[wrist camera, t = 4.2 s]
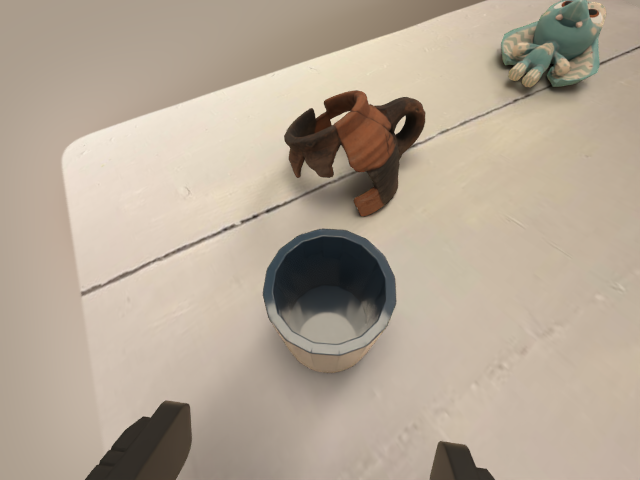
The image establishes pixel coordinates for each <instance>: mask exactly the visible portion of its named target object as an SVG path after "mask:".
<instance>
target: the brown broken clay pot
mask: <svg viewBox="0 0 640 480" xmlns="http://www.w3.org/2000/svg"><path fill="white" fill-rule="evenodd" d="M324 105H325V108H326V112H325V113H323V114H321V115H320V116H319V117H317V118H316V119H315V113H314V110H313V109H312V108H311V109H309V110H308V111H306V112H304V113H303V114H302V115H301V116H299V117H298V118H297V119H296V120H295V121H294V122H293V123H292V124H291V125H290V127H289V128H288V130H287V132H286V134H285V135H284V137H285V142H286V144H287V145H288V146H289V147H290V152H289V161H290V163H291V166H292V168H293V171H294V173H295V175H296V177H297V178H299V177H300V176H301V167H302V165H303V162H304V160H305V161H306V163H307V165H308V166H309V167H310V168H311V169H313V170H315V171H316V173H317V174H318V175H319V176H320V177H327V178H330V177H333V175H334V173H333V168H332V164H333V162H334V159H335V155H336V152H337V151H338V149H339V147H340V145H342V146H343V148H344V150H345V152H346V154H347V157H348V160H349V164H350V166H351V167H352V168H353V169H354V170H355V171H357V172H367V173H368V175H369V177H370V178H371V180H372V181H373V188H371V189H370V190H369V191H367V192H365V193H364V194H362V195H360V196H358V197H355V198H354V203H355V205H356V207H357V208H358V211H359V213H360V215H361V216H366V215H369V214H372V213H373V212H375V211H377V210H378V209H380V208H381V207H383V205H385V204H387V203H388V202H389V200H390V199H392V198H393V196H394V194H395V193H396V191H397V188H398V169H399V160H400V158H401V156H402V154H403V153H404V152H405V151H406V150H407V149H408V148H409V147H411V146H412V145H413V143H414V142H415V141H416V140H417V139H418V137H419V136H420V134H421V132H422V130H423V128H424V124H425V111H424V110H423V106H422V104H421V103H420V102H419V101H417V100H415V99H411V98H408V97H402V98H399V99H396V100H393V101H391V102H389V103H387V104H385V105H381V106H373V105H371V104H370V105H369V104H368V101H367V96H366V94H365V93H363V92H362V91H349V92H345V93H342V94H339V95H336V96H333V97H331V98H329V99H327V100H325V101H324ZM347 111H350V112H349V113H347V114H346V115H345V116H344V117H343V118H342V119H340V120H339V121H338V122H336V123H335V124H334V125H331V121H330V119H332V118H334V117H336V116H338V115H340V114H342V113H344V112H347ZM405 115H406V121H405V124H404V126H403V128H402V130H401V131H400V132H399V133H398V134H396V135H395V133H394V131H395V128H396V125H397V123H398V122H399V121H400V120H401V118H402V117H404V116H405Z"/></svg>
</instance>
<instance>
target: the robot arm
mask: <svg viewBox="0 0 640 480" xmlns="http://www.w3.org/2000/svg"><path fill="white" fill-rule="evenodd" d="M191 442H192V433H191V415H190V406H189V404H187V403H180V402H173V401H164V402H163V403H162V404H161V405H160V406H159V407H158V409H157V410H156V411H155V413H154V414H153V415H152V417H151V418H150V417H142V418H141V419H139V420H138V421H137V422H135V423H134V424H133V425H131V426H130V427H129V428H127V429H126V430H125V431H124V432H123V433H122V435H121V436H120V437H119V438H118V440H117V441H116V442H115V443H114V444H113V446H112V448H111V450H109V451H108V452H107V453H106V454H105V456H104V457H103V458H102V459H101V460H100V463H99V465H96V467H95V468H94V469H93V470H92V471H91V473H90V474H89V475H88V476H87V478H86V479H85V480H176V478H177V477H178V475H179V473H180V471H181V469H182V467H183V465H184V463H185V461H186V459H187V457H188V454H189V451H190V448H191ZM430 480H495V479H494V478H493V476H492V475H491V474H490V473H489V471H488V470H487V469H483V468H477V467H476V466H475V463H474V461H473V458H472V456H471V453H470V451H469V449H468V447H467V446H466V445H463V444H456V443H450V442H443V441H440V442H439V443H438V445H437V449H436V454H435V458H434V462H433V466H432V470H431V474H430Z"/></svg>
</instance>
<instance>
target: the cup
mask: <svg viewBox="0 0 640 480" xmlns="http://www.w3.org/2000/svg"><path fill="white" fill-rule="evenodd" d="M263 298H264V302H265V306H266V310H267V314H268V318H269V320H270V322H271V323H272V325H273V326H274V328H275V329H276V331H277V332H278V334H279V335H280V337H281V339H282V340H283V342H284V343H285V345H286V346H287V348H288V349H289V350H290V352H291V353H292V354H293V356H294V357H295V358H296V359H297V361H299V362H300V363H301V364H303V365H304V366H306V367H307V368H310V369H312V370H314V371H318V372H323V373H335V372H340V371H343V370H346V369H348V368H350V367H353V366H354V365H355V364H356V363H357V362H359V361H360V360H361V358H362V357H363V356H364V355H366V354H367V352H368V351H369V350H370V348H371V347H372V346H373V344H374V343H375V342H376V341H377V339H378V338H379V337H380V335H381V334H382V333H383V331H384V330H385V329H386V327H387V326H388V323H389V321H390V318H391V315H392V313H393V310H394V308H395V305H396V283H395V276H394V274H393V272H392V270H391V268H390V266H389V264H388V262H387V260H386V257H385V256H384V255H383V254H382V253H381V252H380V251H379V250H378V249H377V248H376V247H375V246H374V245H373V244H372V243H370V242H369V241H368V240H367V239H366V238H363V237H361V236H358V235H356V234H354V233H351V232H349V231H346V230H337V229H318V230H315V231H311V232H308V233H305V234H301V235H299V236H297V237H296V238H294V239H293V240H292V241H290V242H289V243H287V244H286V245H285V246H283V247H282V248H281V249H280V250H279V251H278V253H277V254H276V256H275V257H274V259H273V260H272V262H271V264H270V265H269V267H268V268H267V271H266V277H265V282H264V288H263Z"/></svg>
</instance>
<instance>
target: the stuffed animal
mask: <svg viewBox="0 0 640 480" xmlns="http://www.w3.org/2000/svg"><path fill="white" fill-rule="evenodd" d="M605 17H606V10H605V7H604V6H603V5H602V4H599V3H596V2H587V0H562V1H560V2H558V3H555V4H553V5H552V6H551V7H550V8H549V9H548V10H547V11H546V12H545V13H544V14H543V15H542V16H541V17H540V19H539V21H537V22H534V23H531V24H529V25H526V26H523V27H520V28H517V29H514V30H512V31H510V32H508V33H506V34H504V37H503V40H502V42H501V50H502V58H503V62H504V64H505V65H515V66H514V67H513V68H512V69H511V70H510V71H509V75H508V77H509V78H510V79H511V80H513V81H517V80H519V79H520V78H521V77H522V76H523V75H524V73H525V72H527V74H526V75H525V76H524V77H523V78H522V84H523V85H524V86H525V87H532V86H533V85H534V84H535V83H536V82H537V81H538V80H539V79H540V78H541V76H542V74H543V73H544V72H545V71H546V70H547V69H548V67H549V65H550V63H554V66H552V67H551V68H550V70H549V72H548V73H547V78H548V80H549V81H550V82H551V84H552V87H560V86H567V85H572V84H576V83H578V82H580V81H582V80H584V79H586V78H588V77H590V76H592V75H594V74H596V73H597V71H598V68H599V65H600V63H599V52H598V37H599V34H600V31H601V29H602V26H603V23H604V20H605Z"/></svg>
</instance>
